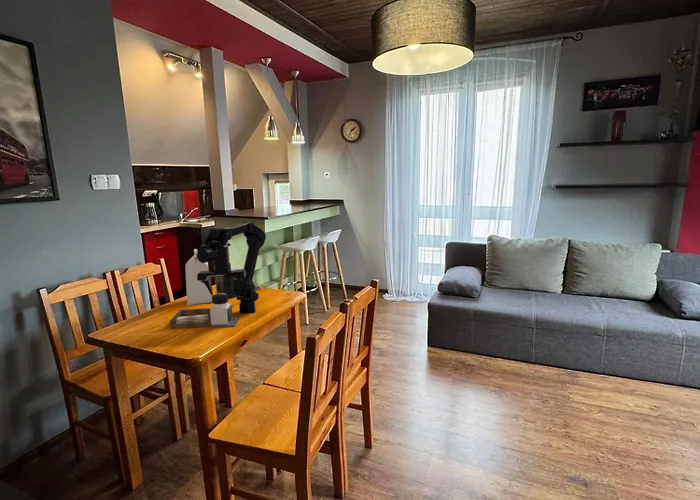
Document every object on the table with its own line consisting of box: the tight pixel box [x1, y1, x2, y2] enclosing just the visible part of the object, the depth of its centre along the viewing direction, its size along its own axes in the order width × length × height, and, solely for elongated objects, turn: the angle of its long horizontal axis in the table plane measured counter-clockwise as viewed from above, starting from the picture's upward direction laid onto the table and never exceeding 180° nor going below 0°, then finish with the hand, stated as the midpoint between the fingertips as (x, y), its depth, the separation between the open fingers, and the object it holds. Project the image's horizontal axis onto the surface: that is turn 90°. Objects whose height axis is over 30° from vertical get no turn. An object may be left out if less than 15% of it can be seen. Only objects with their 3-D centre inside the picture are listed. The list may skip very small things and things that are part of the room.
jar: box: [214, 265, 237, 299], centre depth 198 cm, size 12×12×15 cm
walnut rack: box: [169, 307, 213, 329], centre depth 160 cm, size 16×13×4 cm
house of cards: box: [253, 276, 262, 291], centre depth 210 cm, size 9×9×8 cm
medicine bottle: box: [210, 293, 233, 326], centre depth 157 cm, size 7×7×12 cm
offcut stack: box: [176, 314, 209, 324], centre depth 156 cm, size 12×2×4 cm, turn 103°
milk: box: [185, 248, 213, 306], centre depth 188 cm, size 12×12×26 cm
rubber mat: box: [212, 317, 239, 329], centre depth 158 cm, size 9×9×1 cm
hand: (223, 294), depth 156 cm, fingers open, 9 cm apart
